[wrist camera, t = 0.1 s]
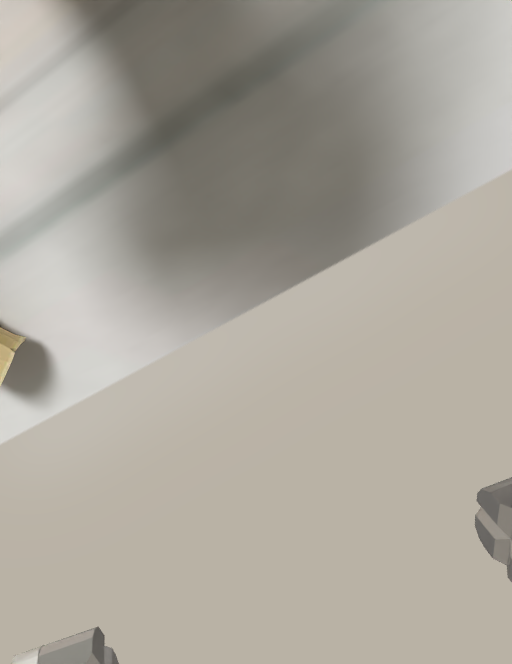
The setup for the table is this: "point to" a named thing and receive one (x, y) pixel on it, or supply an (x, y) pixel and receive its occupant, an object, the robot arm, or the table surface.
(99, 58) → the table surface
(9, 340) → the scroll
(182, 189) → the table surface
